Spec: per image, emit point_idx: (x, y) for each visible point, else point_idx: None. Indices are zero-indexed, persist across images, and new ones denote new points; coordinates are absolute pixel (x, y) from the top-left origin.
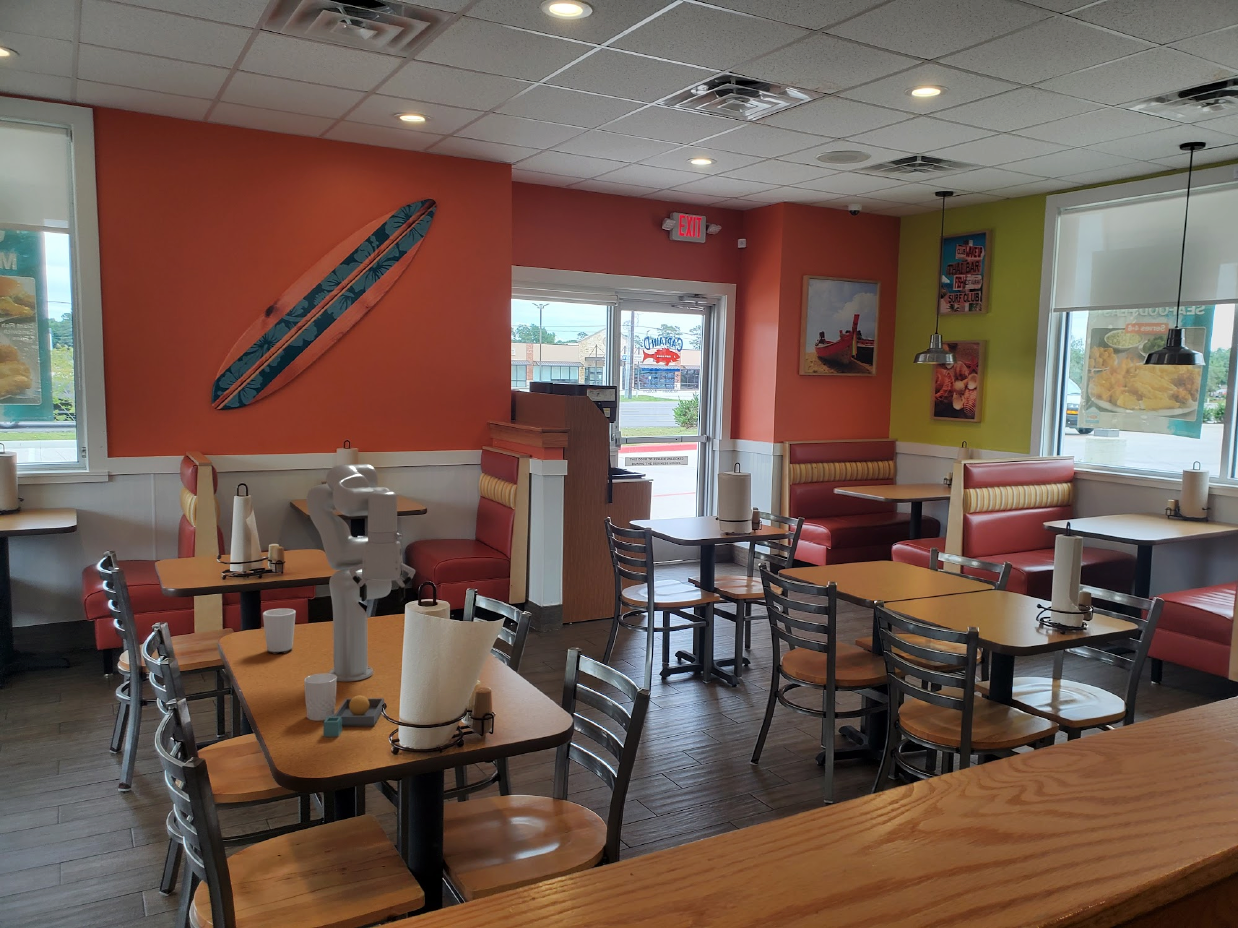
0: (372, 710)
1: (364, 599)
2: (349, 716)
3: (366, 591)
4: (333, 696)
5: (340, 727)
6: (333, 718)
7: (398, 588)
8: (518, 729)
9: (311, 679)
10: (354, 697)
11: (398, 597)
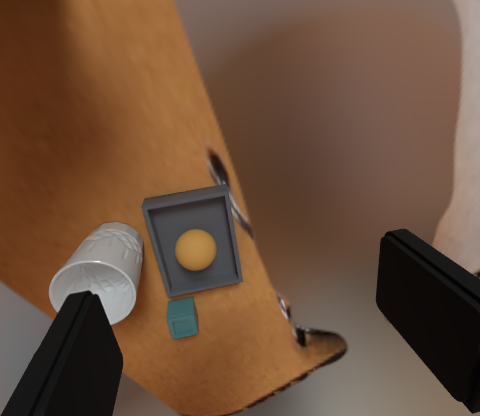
0: (211, 214)
1: (119, 366)
2: (197, 290)
3: (79, 359)
4: (140, 273)
5: (195, 312)
6: (179, 319)
7: (458, 399)
8: (469, 240)
9: (58, 277)
10: (187, 263)
11: (397, 328)
